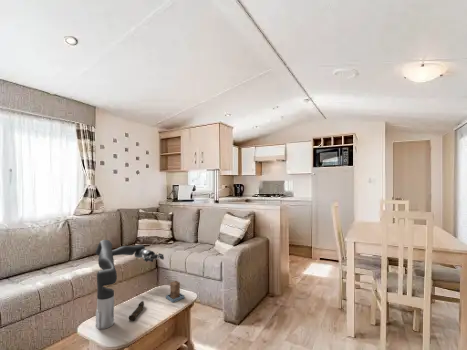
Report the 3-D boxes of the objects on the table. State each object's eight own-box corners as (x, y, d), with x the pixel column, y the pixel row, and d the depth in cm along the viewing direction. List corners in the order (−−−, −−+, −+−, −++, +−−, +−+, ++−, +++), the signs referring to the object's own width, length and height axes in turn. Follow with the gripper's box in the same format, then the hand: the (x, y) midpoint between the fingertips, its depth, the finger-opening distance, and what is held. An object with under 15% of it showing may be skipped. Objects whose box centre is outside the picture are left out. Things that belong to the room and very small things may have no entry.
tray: (172, 302, 184) (172, 299, 184) (166, 298, 190) (166, 295, 191) (184, 298, 190) (184, 295, 190) (177, 294, 197) (177, 291, 197)
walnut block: (173, 299, 187) (173, 284, 187) (170, 297, 190) (170, 282, 191) (179, 297, 190) (179, 282, 191) (176, 295, 194) (176, 280, 194)
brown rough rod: (134, 321, 159) (134, 314, 159) (128, 321, 159) (128, 314, 160) (147, 306, 178) (147, 300, 178) (141, 306, 178) (141, 299, 178)
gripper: (139, 252, 200) (149, 256, 188) (156, 248, 210) (166, 252, 198) (139, 261, 199) (149, 266, 188) (156, 257, 209) (166, 262, 198)
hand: (158, 259), depth 193 cm, fingers open, 8 cm apart
